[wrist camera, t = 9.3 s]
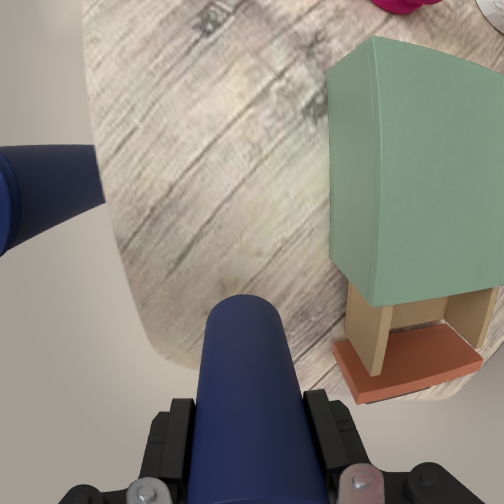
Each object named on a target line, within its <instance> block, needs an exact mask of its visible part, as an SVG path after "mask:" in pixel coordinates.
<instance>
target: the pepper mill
mask: <svg viewBox="0 0 504 504" xmlns="http://www.w3.org/2000/svg"><path fill="white" fill-rule="evenodd" d="M371 1H372V2H373V3H374V4H376V5H378V6H379V7H381V8H382V9H384V10H386V11H389V12H392V13H396V14H408V13H411V12H413V11H414V10H416V9H418V8H419V7H421V6H422V5H431V4H435V3H438V2H440V1H442V0H371Z"/></svg>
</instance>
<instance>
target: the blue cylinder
mask: <svg viewBox="0 0 504 504" xmlns="http://www.w3.org/2000/svg"><path fill="white" fill-rule="evenodd" d="M185 504H330V500H329V497H328V493H327V489H326V485H325V481H324V477H323V473H322V470H321V466H320V462H319V458H318V454H317V451H316V447H315V443H314V439H313V436H312V432H311V428H310V424H309V421H308V417H307V413H306V409H305V406H304V402H303V398H302V395H301V391H300V387H299V383H298V380H297V376H296V372H295V369H294V365H293V361H292V358H291V354H290V350H289V347H288V343H287V339H286V336H285V332H284V329H283V325H282V321H281V318H280V315H279V313H278V311H277V310H276V308H275V307H274V306H273V305H272V304H271V303H269V302H268V301H266V300H265V299H263V298H260V297H258V296H254V295H235V296H231V297H229V298H226V299H224V300H222V301H221V302H219V303H218V304H217V305H216V306H215V307H214V308H213V309H212V310H211V312H210V314H209V316H208V318H207V322H206V329H205V336H204V343H203V350H202V358H201V365H200V373H199V381H198V389H197V398H196V405H195V414H194V423H193V431H192V441H191V450H190V460H189V470H188V480H187V491H186V503H185Z"/></svg>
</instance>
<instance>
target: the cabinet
mask: <svg viewBox="0 0 504 504" xmlns="http://www.w3.org/2000/svg"><path fill="white" fill-rule="evenodd" d="M326 83H327V98H328V116H329V140H330V255H329V258H330V259H331V261H333V263H334V264H335V265H336V266H337V267H338V268H339V270H340V271H341V272H342V273H343V274H344V275H345V276H346V278H347V279H348V280H349V281H350V282H351V283H352V285H353V286H354V287H355V288H356V289H357V290H358V292H359V293H360V294H361V295H362V296H363V297H364V299H365V300H366V301H367V302H368V303H369V304H370V306H371V307H381V306H388V305H395V304H402V303H409V302H415V301H422V300H428V299H434V298H440V297H445V296H451V295H457V294H462V293H467V292H473V291H478V290H483V289H488V288H493V287H497V286H502V285H504V75H502V74H500V73H498V72H495V71H493V70H491V69H488V68H486V67H483V66H480V65H478V64H475V63H472V62H470V61H467V60H464V59H461V58H458V57H455V56H452V55H449V54H446V53H443V52H439V51H436V50H433V49H429V48H425V47H422V46H418V45H414V44H410V43H406V42H401V41H397V40H392V39H387V38H382V37H377V36H371V37H370V38H368V39H367V40H366V41H364V42H363V43H362V44H360V45H359V46H358V47H356V48H355V49H354V50H353V51H351V52H350V53H349V54H347V55H346V56H345V57H344V58H342V59H341V60H340V61H339V62H337V63H336V64H335V65H334V66H332V67H331V68H330V69H329V70H327V71H326Z"/></svg>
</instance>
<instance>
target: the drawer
mask: <svg viewBox="0 0 504 504" xmlns="http://www.w3.org/2000/svg"><path fill="white" fill-rule="evenodd" d="M498 289H499V286H497V287H493V288H488V289H483V290H478V291H473V292H467V293H462V294H457V295H451V296H445V297H440V298H434V299H428V300H422V301H415V302H409V303H402V304H395V305H388V306H381V307H371V306H370V304H369V303H368V302H367V301H366V300H365V299H364V297H363V296H362V295H361V294H360V293H359V292H358V290H357V289H356V288H355V287H354V286H353V285H352V283H351V282H350V281H349V283H348V296H347V307H346V317H345V327H344V332H345V333H346V335H347V337H348V339H349V341H345V342H338V343H334V347H333V355H334V357H335V359H336V361H337V363H338V366H339V368H340V370H341V372H342V374H343V376H344V378H345V381H346V383H347V385H348V387H349V389H350V391H351V393H352V396H353V398H354V400H355V402H356V404H357V405H358V404H363V403H366V404H370V403H375V402H379V401H384V400H388V399H392V398H396V397H400V396H404V395H407V394H411V393H415V392H418V391H422V390H425V389H428V388H430V387H431V386H434V385H437V384H440V383H443V382H446V381H449V380H452V379H455V378H458V377H461V376H464V375H467V374H470V373H472V372H475V371H478V370H480V367H481V365H482V362H483V360H484V359H483V358H482V357H481V356H480V355H479V354H478V353H477V352H476V351H475V350H474V349H473V348H472V347H471V346H470V345H468V344H467V343H466V342H465V341H464V340H463V339H462V338H461V337H460V336H459V335H458V334H457V333H456V332H455V331H454V330H453V329H452V328H450V327H449V326H448V325H447V324H446V323H445V324H440V325H436V326H431V327H426V328H422V329H417V330H411V331H406V332H401V333H395V334H390V335H389V330H390V329H393V328H399V327H404V326H410V325H415V324H420V323H426V322H430V321H435V320H440V319H444V320H445V321H447V322H448V323H449V324H450V325H451V326H452V327H453V328H454V329H455V330H456V331H457V332H458V333H460V334H461V335H462V336H463V337H464V338H465V339H466V340H467V341H468V342H469V343H470V344H471V345H472V346H473V347H474V348H475V349H477V348H480V347H482V345H483V342H484V339H485V336H486V333H487V329H488V326H489V323H490V319H491V316H492V312H493V309H494V305H495V301H496V297H497V293H498Z"/></svg>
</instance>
